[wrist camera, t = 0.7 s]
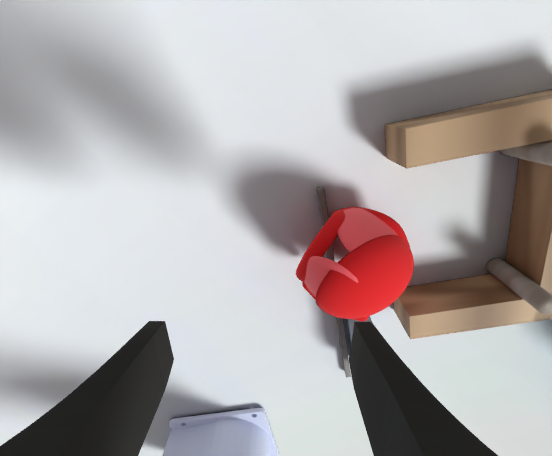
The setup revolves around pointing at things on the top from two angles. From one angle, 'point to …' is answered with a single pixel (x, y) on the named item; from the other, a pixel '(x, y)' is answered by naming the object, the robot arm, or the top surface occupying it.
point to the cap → (357, 264)
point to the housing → (523, 229)
